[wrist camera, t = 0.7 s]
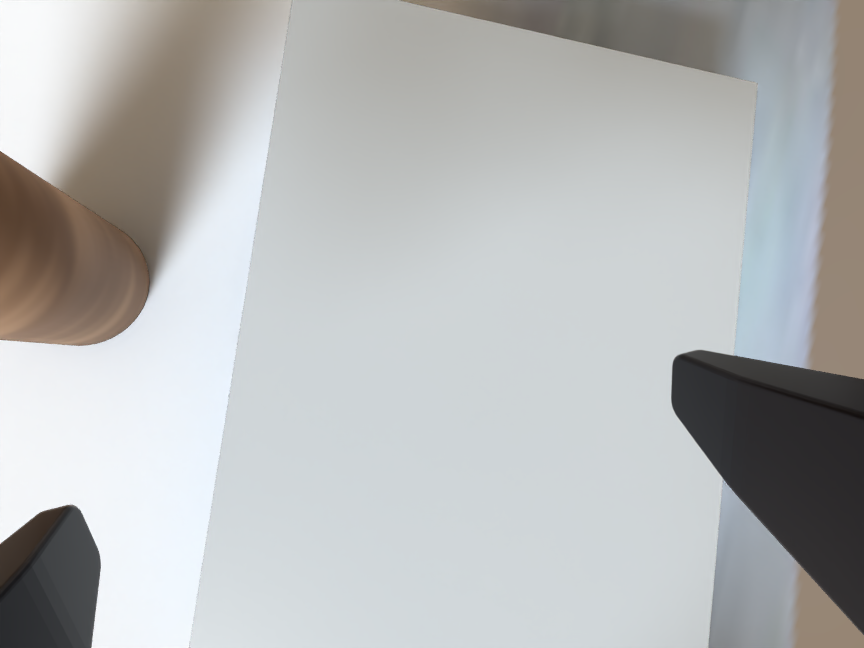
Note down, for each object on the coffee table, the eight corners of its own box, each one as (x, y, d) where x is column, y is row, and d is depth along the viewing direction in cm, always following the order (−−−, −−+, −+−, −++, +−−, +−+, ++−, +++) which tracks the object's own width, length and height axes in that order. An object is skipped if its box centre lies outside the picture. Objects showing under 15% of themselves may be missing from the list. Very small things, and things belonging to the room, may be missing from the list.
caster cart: (637, 677, 24) (700, 739, 20) (205, 653, 21) (177, 720, 17) (690, 126, 25) (757, 83, 22) (300, 43, 23) (295, -24, 19)
